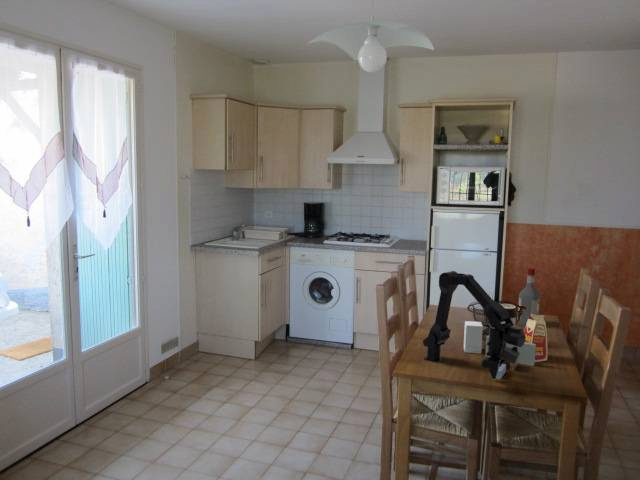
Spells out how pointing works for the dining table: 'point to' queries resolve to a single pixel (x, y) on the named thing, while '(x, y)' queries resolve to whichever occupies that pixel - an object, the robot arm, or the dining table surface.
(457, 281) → the robot arm
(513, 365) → the brown u-shaped bracket
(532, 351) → the backstop board
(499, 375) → the blue-gray block
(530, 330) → the milk carton
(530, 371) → the dining table surface
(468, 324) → the supplement box
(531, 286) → the liquor
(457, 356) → the dining table surface
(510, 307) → the travel mug
